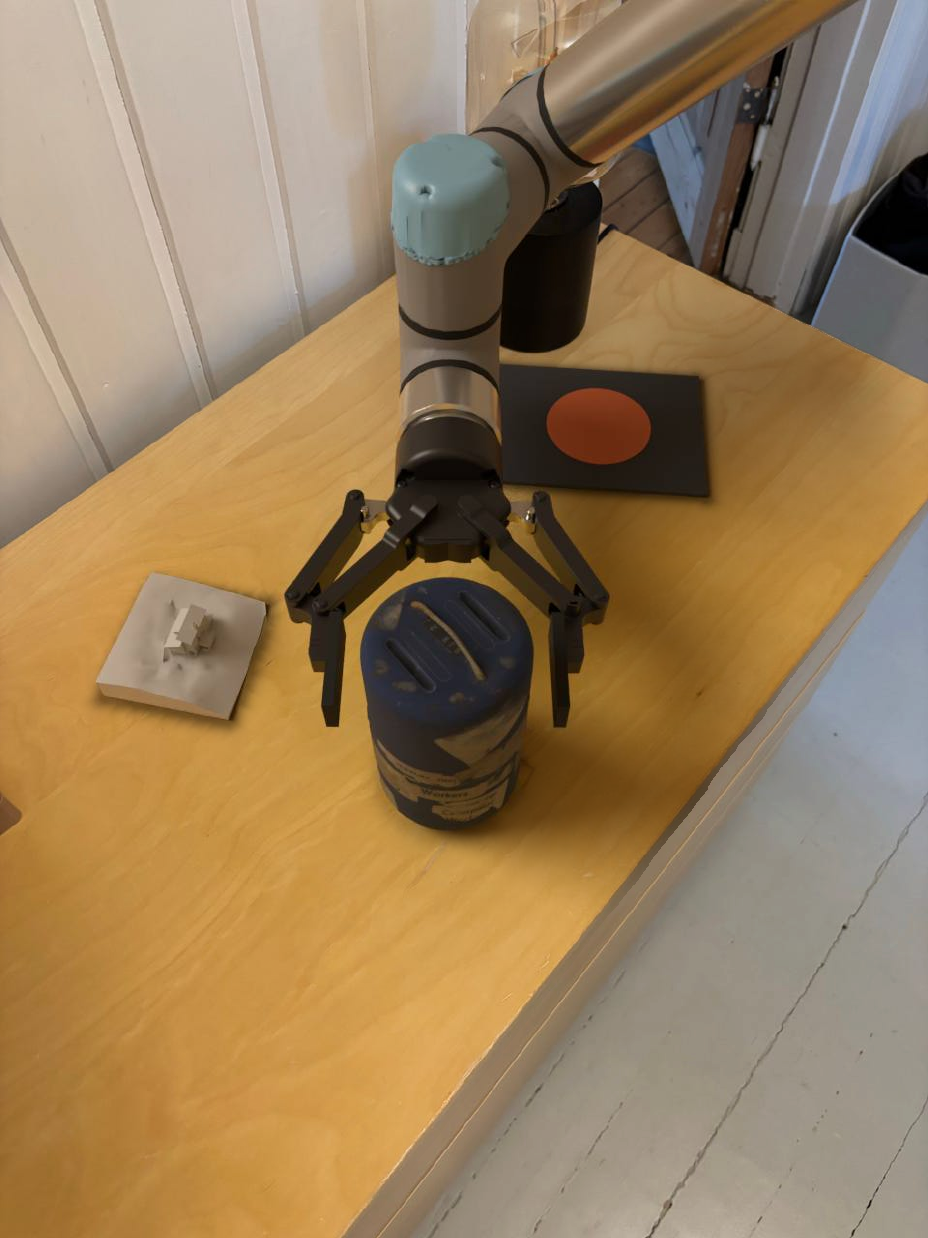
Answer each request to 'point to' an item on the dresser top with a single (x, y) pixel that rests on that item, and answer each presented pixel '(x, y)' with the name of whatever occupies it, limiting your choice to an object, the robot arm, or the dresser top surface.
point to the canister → (447, 699)
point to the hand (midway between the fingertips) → (445, 717)
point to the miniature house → (184, 647)
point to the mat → (602, 430)
